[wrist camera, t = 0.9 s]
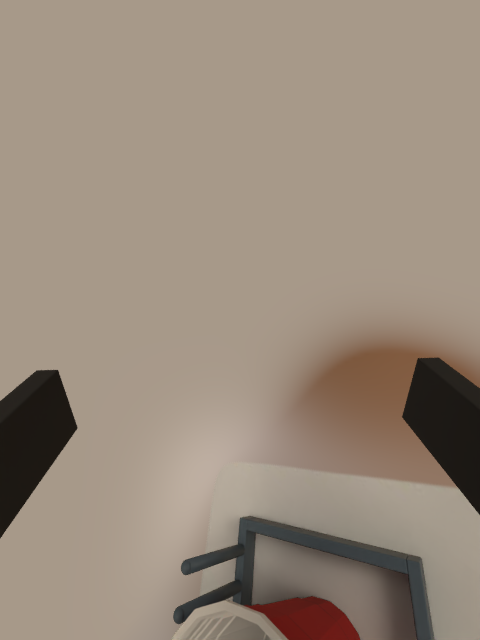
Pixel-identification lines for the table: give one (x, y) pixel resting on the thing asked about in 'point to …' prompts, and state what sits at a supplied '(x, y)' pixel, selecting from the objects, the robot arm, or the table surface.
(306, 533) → the grey square frame
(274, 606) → the plastic cup
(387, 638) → the table surface
